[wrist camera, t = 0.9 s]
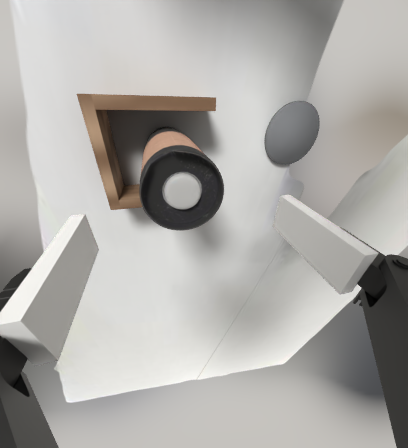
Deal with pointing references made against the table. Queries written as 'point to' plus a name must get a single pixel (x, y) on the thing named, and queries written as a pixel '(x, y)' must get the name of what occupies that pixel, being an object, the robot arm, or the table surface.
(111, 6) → the table surface
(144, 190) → the travel mug
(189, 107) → the frame
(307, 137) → the coaster
